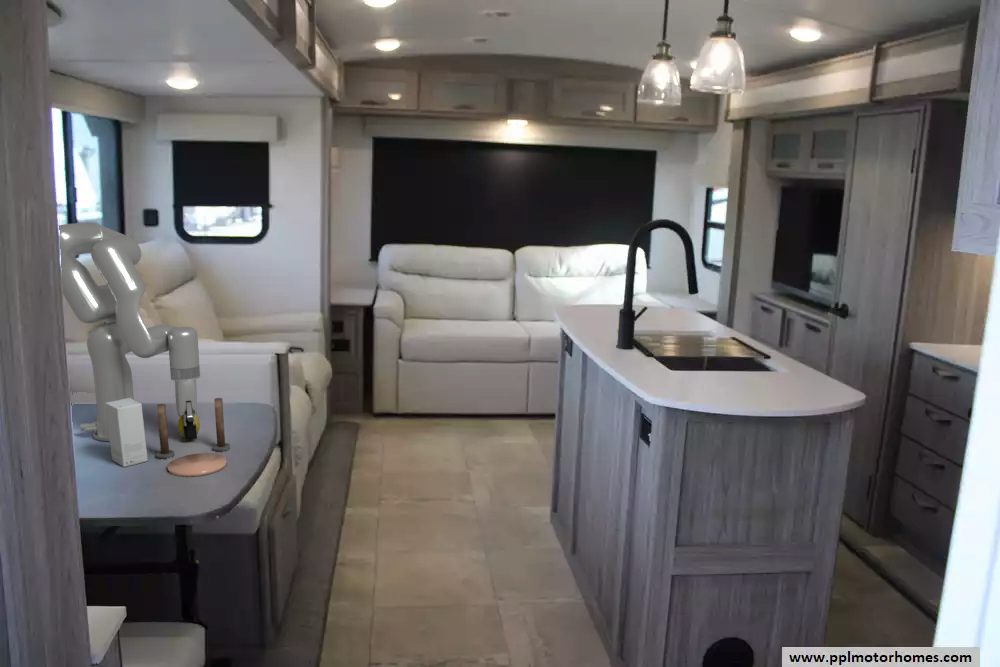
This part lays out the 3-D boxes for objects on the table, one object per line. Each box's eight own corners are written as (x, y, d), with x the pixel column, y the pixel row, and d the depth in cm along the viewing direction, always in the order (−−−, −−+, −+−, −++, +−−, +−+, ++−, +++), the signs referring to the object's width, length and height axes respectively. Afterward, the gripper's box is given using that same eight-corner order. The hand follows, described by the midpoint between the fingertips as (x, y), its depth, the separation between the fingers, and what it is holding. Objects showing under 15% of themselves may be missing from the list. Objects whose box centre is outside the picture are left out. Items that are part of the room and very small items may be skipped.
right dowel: (213, 453, 217) (210, 402, 214) (211, 447, 221) (208, 397, 218) (231, 450, 219) (228, 400, 216) (228, 445, 223) (226, 396, 220)
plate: (169, 480, 198) (169, 476, 198) (166, 461, 211) (165, 457, 210) (230, 471, 204) (229, 468, 204) (223, 454, 216) (223, 450, 216)
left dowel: (156, 460, 211) (152, 408, 208) (155, 455, 215) (151, 403, 212) (174, 458, 213) (171, 406, 210) (173, 452, 217) (170, 401, 214)
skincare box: (148, 462, 210) (143, 403, 207) (121, 468, 206) (116, 408, 203) (135, 453, 216) (130, 396, 213) (109, 459, 212) (104, 401, 208)
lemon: (174, 440, 227) (172, 412, 225) (190, 434, 231) (188, 407, 230) (189, 443, 224) (187, 415, 222) (204, 437, 229) (203, 410, 227)
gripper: (168, 366, 230) (173, 428, 234) (172, 381, 215) (177, 447, 218) (196, 364, 233) (201, 425, 237) (202, 378, 218) (207, 443, 221)
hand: (189, 435), depth 227 cm, fingers closed on lemon, 5 cm apart
